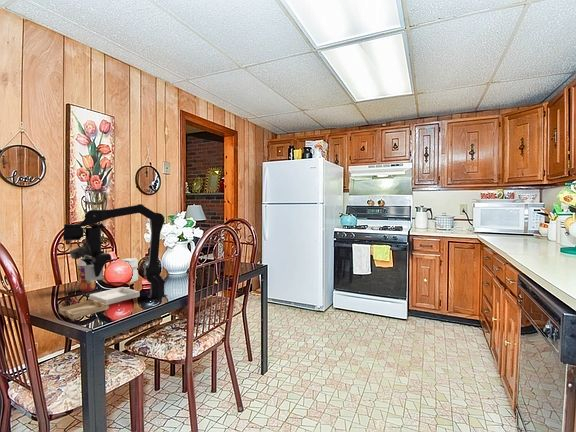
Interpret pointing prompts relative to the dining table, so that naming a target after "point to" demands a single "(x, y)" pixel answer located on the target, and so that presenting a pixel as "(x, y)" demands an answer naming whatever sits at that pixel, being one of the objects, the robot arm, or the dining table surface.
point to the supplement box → (133, 267)
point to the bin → (114, 295)
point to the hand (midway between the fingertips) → (94, 275)
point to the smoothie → (83, 283)
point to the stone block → (92, 273)
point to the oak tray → (83, 309)
